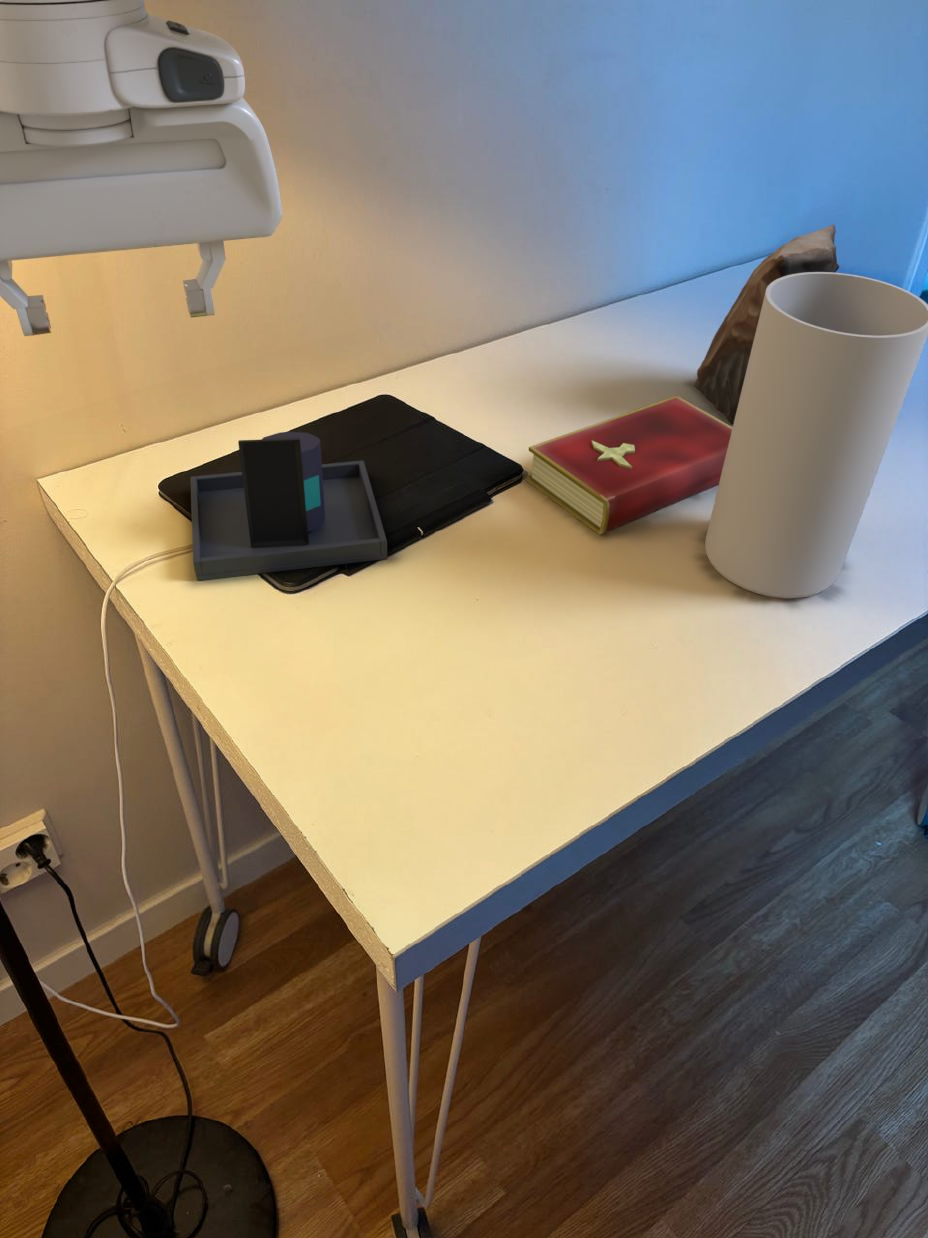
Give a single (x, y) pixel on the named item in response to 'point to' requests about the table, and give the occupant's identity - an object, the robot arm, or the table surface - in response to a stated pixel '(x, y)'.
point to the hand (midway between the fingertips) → (121, 322)
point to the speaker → (282, 488)
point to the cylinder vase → (812, 428)
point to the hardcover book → (632, 463)
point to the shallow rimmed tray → (338, 541)
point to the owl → (757, 316)
